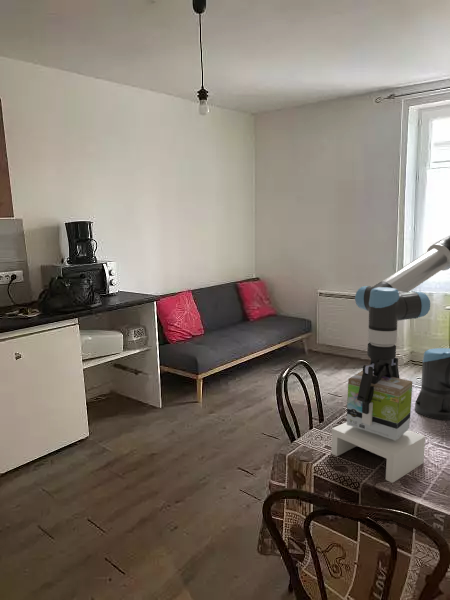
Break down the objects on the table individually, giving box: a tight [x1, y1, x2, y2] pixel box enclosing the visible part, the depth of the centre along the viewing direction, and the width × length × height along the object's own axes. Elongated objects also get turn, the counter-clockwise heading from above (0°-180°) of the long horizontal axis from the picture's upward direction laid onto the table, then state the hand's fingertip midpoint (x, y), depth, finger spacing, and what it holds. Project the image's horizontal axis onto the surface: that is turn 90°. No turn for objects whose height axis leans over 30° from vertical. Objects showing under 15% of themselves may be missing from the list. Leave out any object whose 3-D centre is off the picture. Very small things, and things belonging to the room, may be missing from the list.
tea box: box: [346, 370, 413, 441], centre depth 128 cm, size 15×10×15 cm
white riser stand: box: [330, 421, 426, 484], centre depth 130 cm, size 16×20×8 cm
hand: (378, 418), depth 129 cm, fingers closed on tea box, 11 cm apart
